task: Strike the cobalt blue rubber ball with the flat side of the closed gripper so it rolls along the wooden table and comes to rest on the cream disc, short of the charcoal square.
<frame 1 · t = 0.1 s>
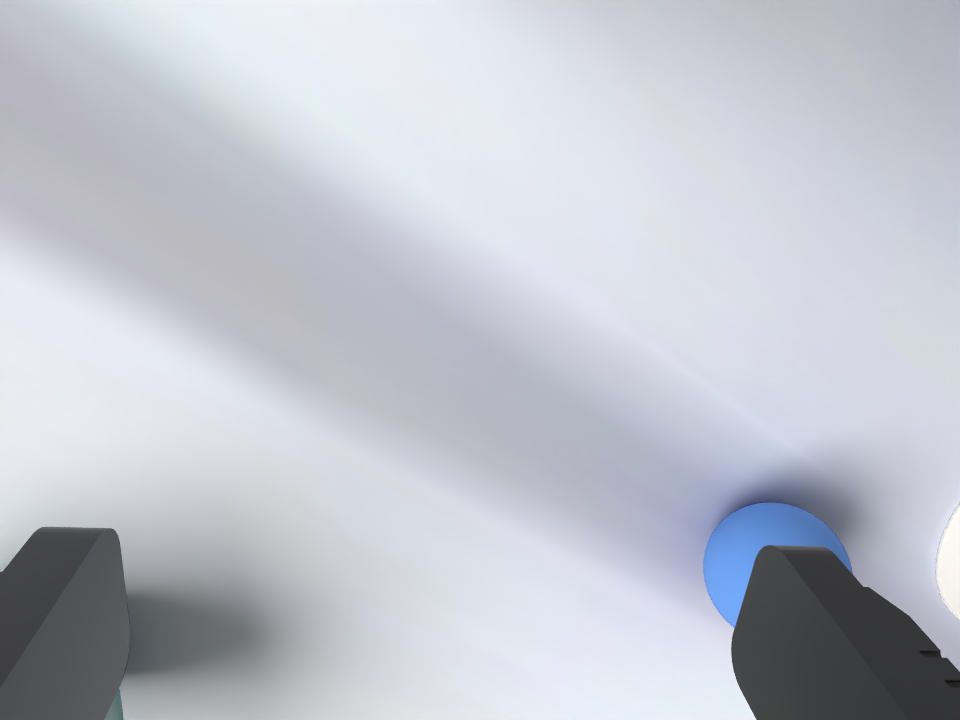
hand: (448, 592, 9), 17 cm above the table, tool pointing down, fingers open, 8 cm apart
ball: (775, 572, 29), on the table
flower pot: (52, 632, 31), on the table
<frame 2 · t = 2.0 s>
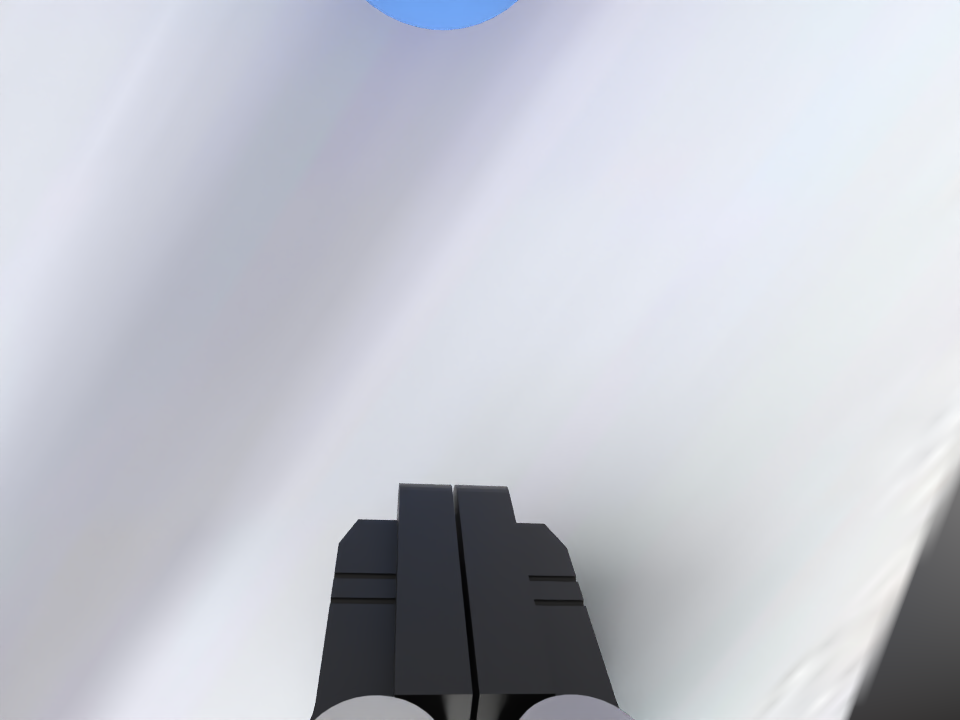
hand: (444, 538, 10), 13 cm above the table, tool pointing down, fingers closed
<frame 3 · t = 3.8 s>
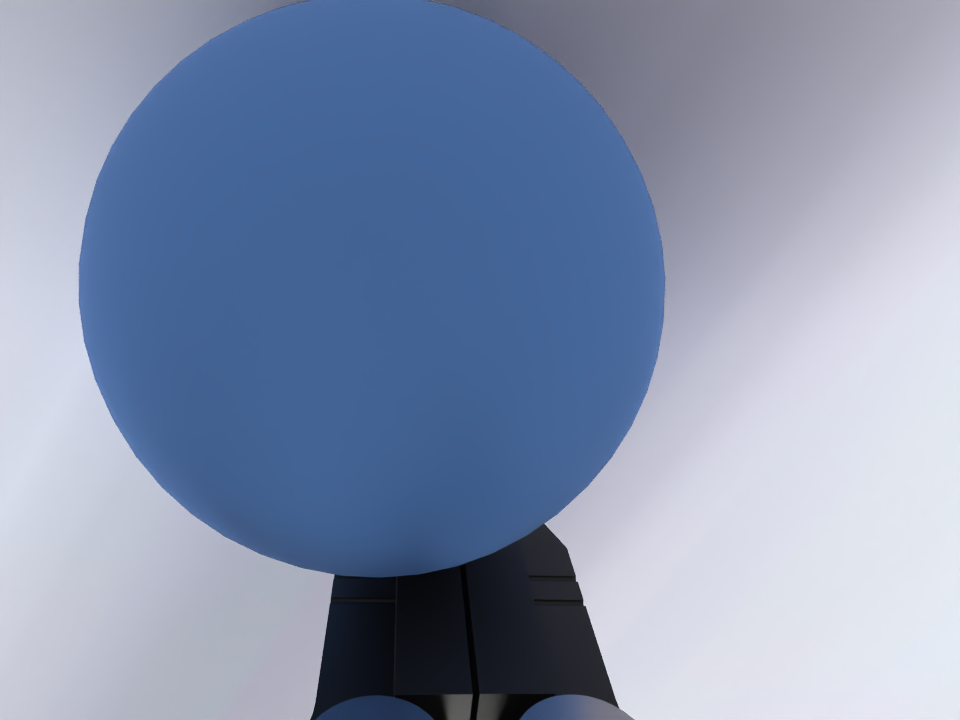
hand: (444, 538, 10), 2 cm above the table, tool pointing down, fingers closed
ball: (387, 296, 7), on the table, touching gripper
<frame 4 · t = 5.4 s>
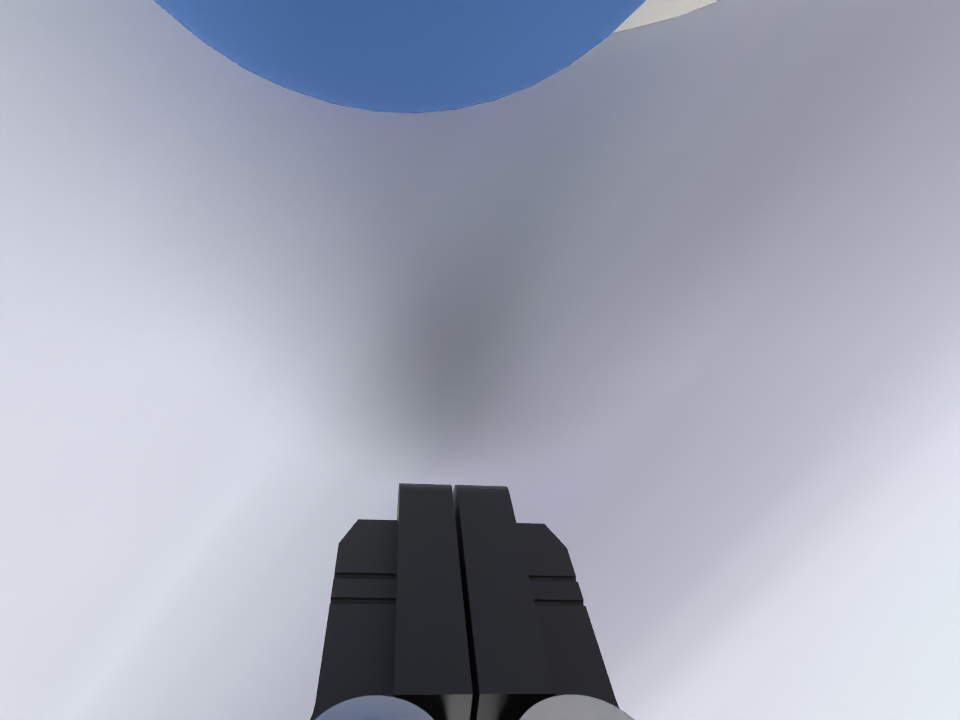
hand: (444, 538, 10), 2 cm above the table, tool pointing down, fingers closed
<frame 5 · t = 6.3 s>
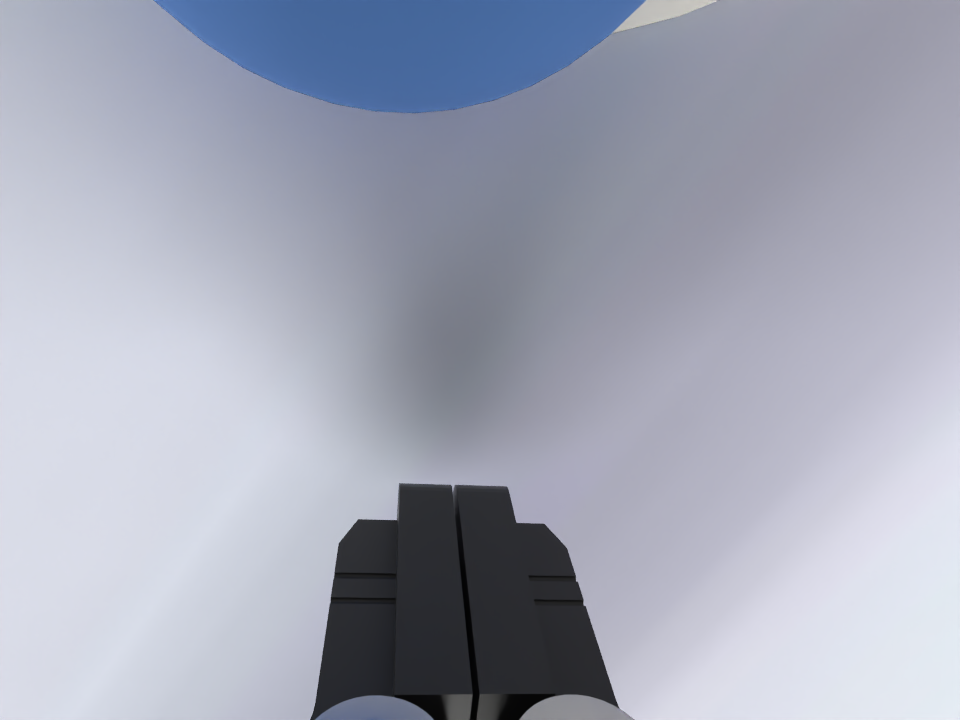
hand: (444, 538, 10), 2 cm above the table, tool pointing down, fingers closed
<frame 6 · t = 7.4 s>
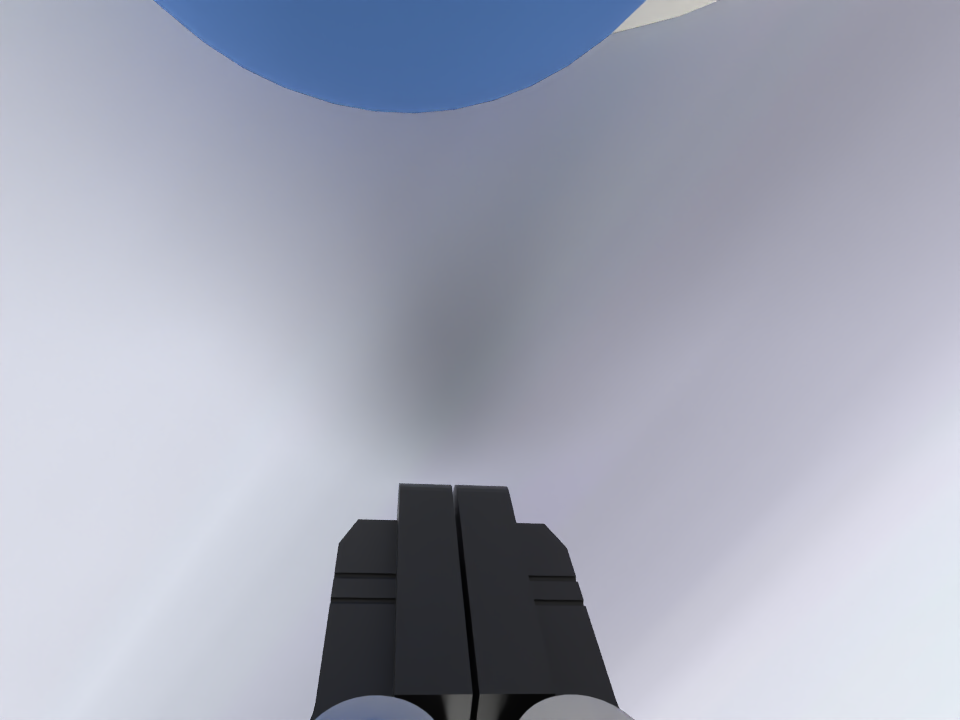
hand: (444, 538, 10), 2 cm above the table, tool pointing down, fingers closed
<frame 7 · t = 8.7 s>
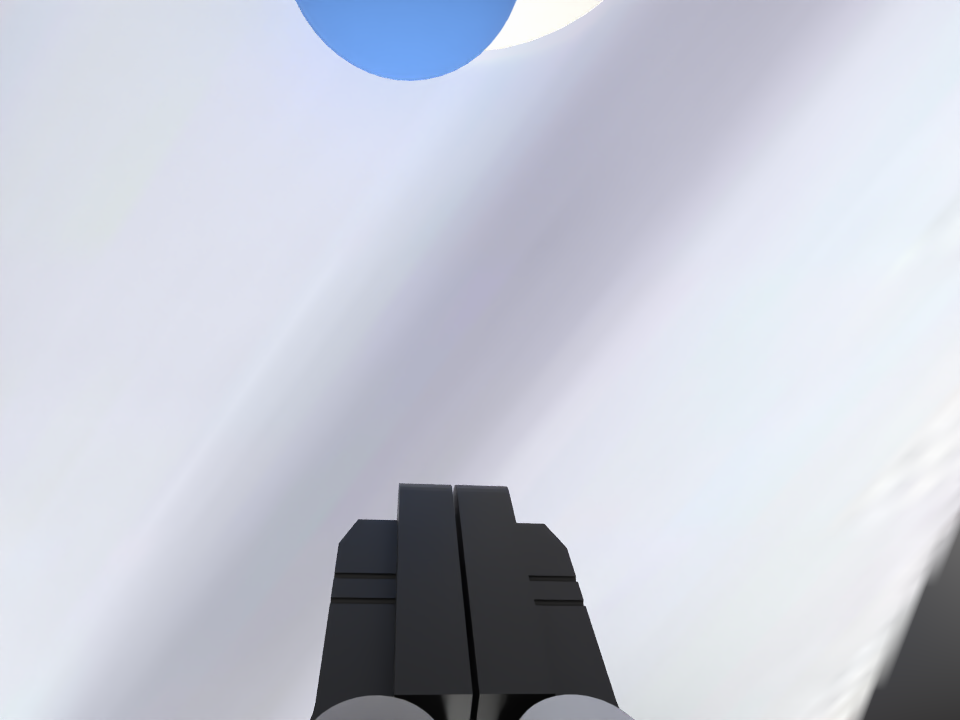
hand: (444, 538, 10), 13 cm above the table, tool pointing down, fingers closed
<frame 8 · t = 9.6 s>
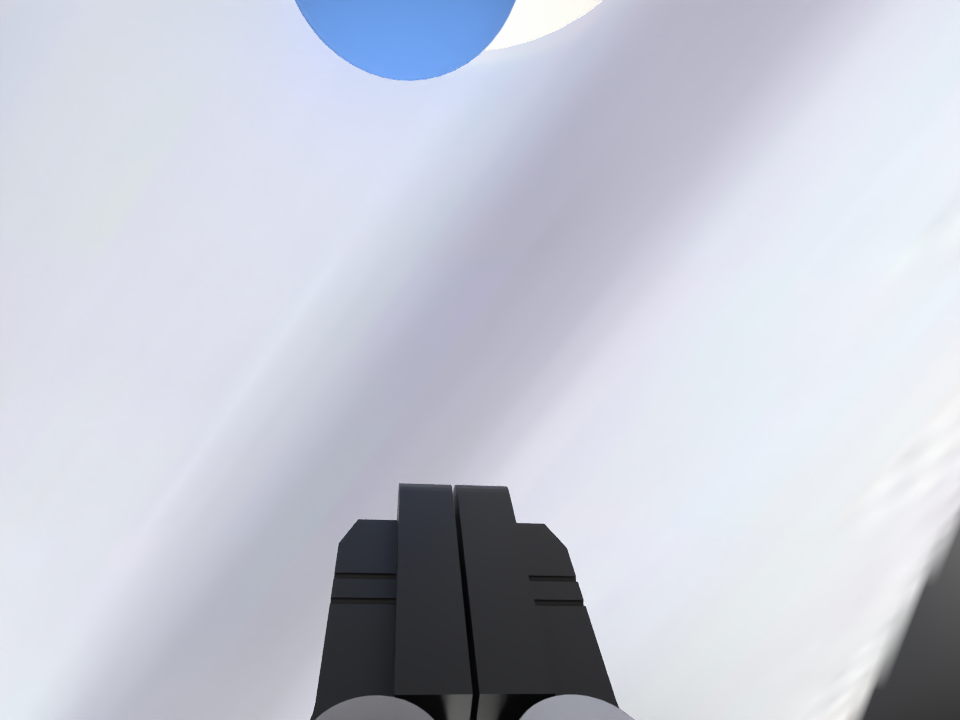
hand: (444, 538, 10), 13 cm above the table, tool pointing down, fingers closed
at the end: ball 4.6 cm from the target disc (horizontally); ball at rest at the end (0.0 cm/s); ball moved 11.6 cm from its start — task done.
